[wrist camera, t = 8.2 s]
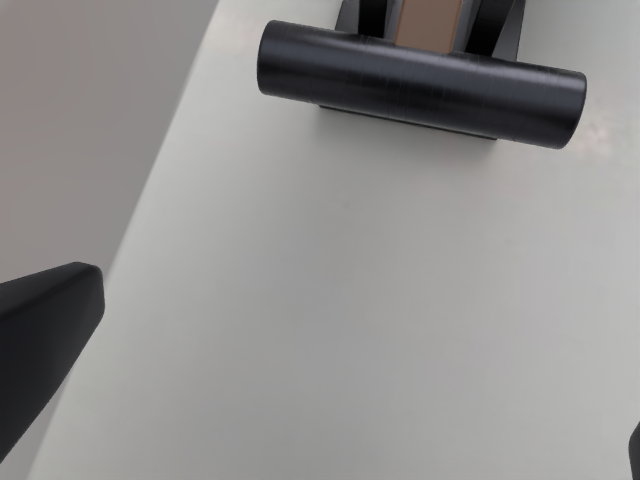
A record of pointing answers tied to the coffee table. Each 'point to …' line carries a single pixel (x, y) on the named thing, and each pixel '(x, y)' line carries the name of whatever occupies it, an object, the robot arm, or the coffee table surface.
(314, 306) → the coffee table surface
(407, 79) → the lever
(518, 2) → the bracket
